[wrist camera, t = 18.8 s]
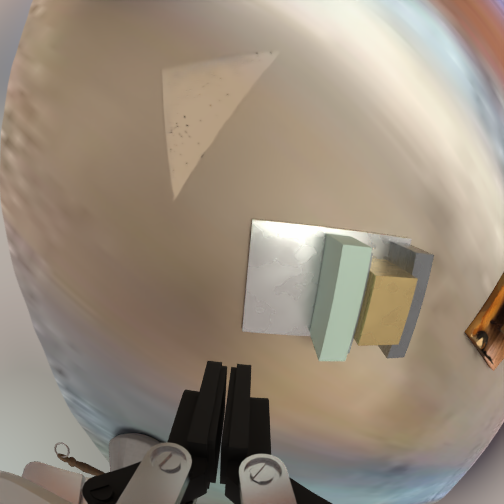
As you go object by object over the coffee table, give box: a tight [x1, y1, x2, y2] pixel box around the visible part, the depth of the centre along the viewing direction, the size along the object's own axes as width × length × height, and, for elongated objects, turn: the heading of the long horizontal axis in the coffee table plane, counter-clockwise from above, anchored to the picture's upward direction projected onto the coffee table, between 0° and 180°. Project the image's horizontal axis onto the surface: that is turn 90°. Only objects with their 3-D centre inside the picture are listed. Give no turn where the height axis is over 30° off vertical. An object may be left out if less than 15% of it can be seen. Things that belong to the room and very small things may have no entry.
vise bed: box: [242, 219, 434, 358], centre depth 23 cm, size 16×11×6 cm
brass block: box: [354, 258, 418, 346], centre depth 22 cm, size 4×6×6 cm, turn 175°
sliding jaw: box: [310, 234, 373, 361], centre depth 22 cm, size 3×10×5 cm, turn 175°
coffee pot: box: [54, 433, 160, 476], centre depth 25 cm, size 21×12×15 cm, turn 7°
